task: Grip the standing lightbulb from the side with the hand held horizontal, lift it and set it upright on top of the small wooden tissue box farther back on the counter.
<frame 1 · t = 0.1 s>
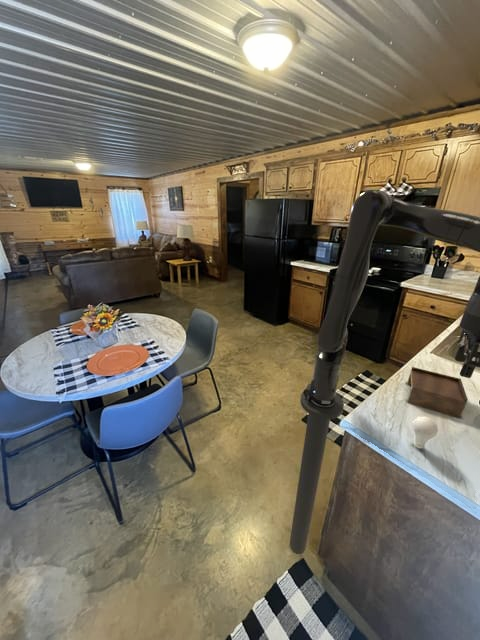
hand: (461, 368, 70), 28 cm above the counter, tool pointing down, fingers open, 8 cm apart
lightbulb: (417, 447, 81), on the counter
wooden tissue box: (431, 398, 102), on the counter
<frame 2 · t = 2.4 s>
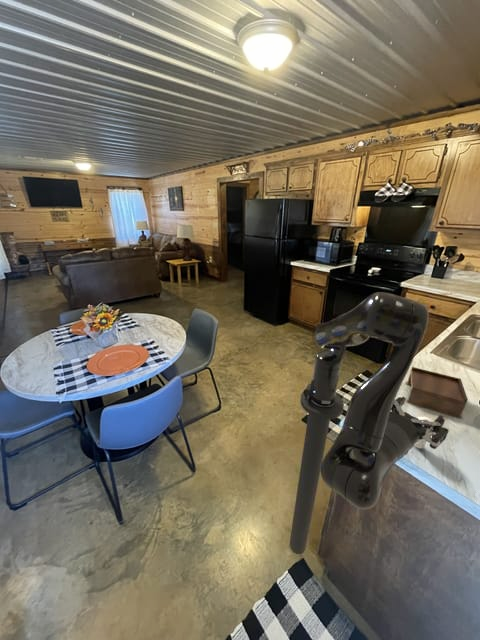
hand: (421, 408, 67), 20 cm above the counter, tool horizontal, fingers open, 8 cm apart
nothing on the counter moved.
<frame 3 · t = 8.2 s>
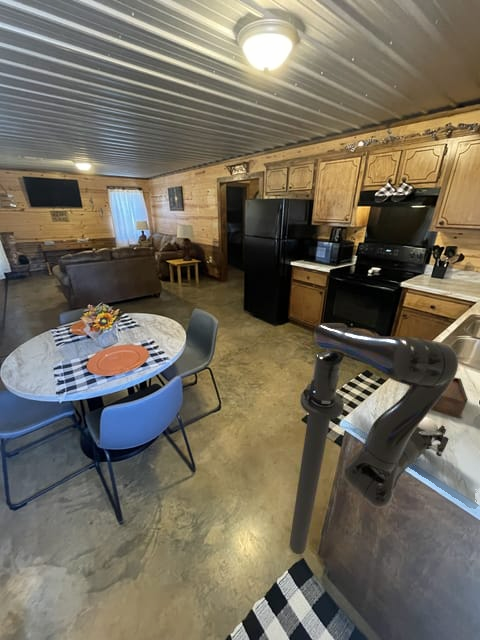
hand: (429, 421, 79), 9 cm above the counter, tool horizontal, fingers closed on lightbulb, 6 cm apart
lightbulb: (417, 447, 81), on the counter, touching gripper
when the fingers open (16 cm above the counter, at t = 18.7 s): lightbulb stays where it is, resting on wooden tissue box.
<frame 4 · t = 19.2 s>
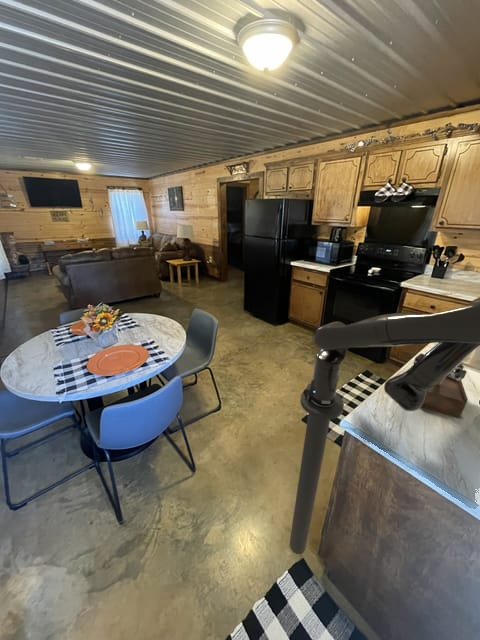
hand: (446, 360, 96), 17 cm above the counter, tool horizontal, fingers open, 8 cm apart
lightbulb: (436, 384, 99), point 7 cm above the counter, touching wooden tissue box
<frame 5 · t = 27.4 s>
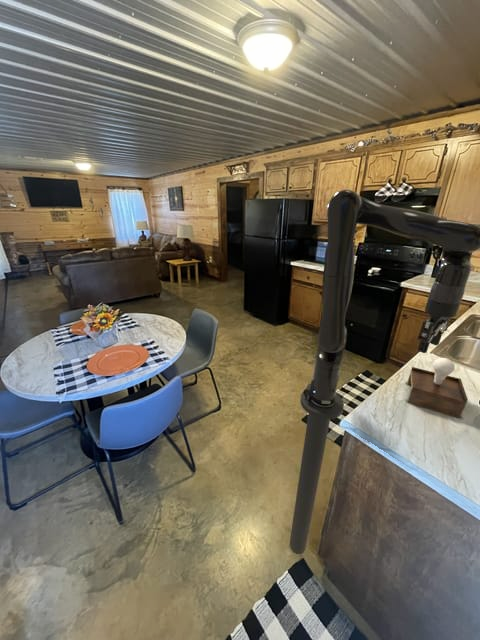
hand: (428, 347, 81), 28 cm above the counter, tool pointing down, fingers open, 8 cm apart
nothing on the counter moved.
at the end: lightbulb inside the target area on the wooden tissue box (0.1 cm from its centre), point 6.8 cm above the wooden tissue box's base; lightbulb tilted 0°; the gripper is holding nothing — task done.
